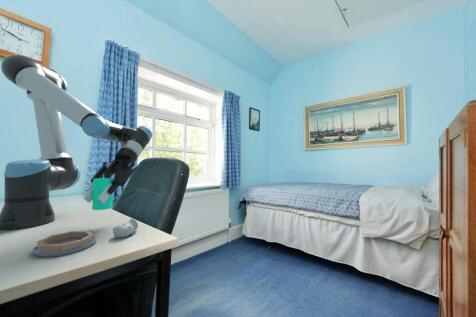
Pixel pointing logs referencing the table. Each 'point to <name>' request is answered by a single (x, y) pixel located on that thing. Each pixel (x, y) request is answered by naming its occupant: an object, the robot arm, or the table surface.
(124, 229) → the grey curved figurine
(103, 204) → the candle
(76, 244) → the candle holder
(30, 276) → the table surface
